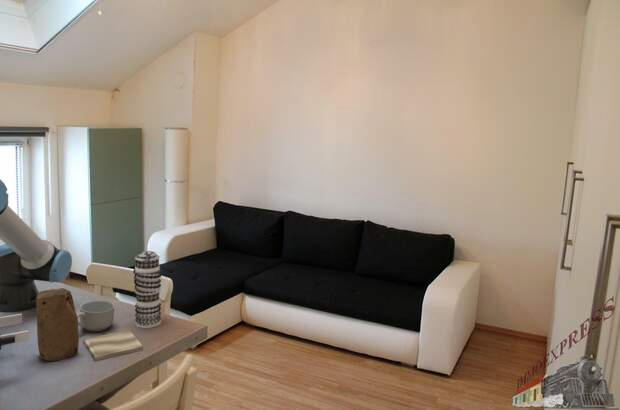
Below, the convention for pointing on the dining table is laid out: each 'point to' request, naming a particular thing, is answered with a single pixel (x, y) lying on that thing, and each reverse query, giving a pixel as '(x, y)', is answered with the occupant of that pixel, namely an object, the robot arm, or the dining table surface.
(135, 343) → the beige packet
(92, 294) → the dining table surface
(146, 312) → the decorative candle
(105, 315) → the teacup
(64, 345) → the block
